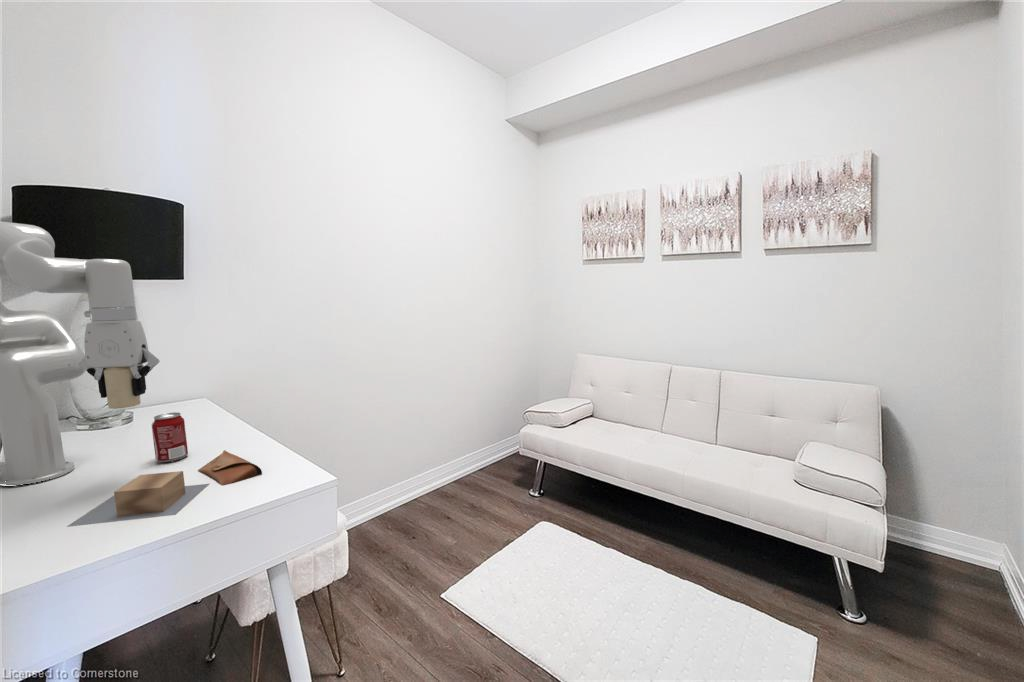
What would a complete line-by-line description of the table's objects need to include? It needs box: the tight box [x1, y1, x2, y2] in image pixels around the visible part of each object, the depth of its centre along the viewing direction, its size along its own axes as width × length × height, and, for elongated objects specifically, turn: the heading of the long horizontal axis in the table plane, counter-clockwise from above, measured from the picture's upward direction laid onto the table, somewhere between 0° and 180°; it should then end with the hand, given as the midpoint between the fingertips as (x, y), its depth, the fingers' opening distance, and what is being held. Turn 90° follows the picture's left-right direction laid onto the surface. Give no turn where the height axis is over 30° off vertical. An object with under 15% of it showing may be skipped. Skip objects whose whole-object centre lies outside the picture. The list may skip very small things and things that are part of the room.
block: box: [113, 470, 186, 516], centre depth 89 cm, size 8×8×5 cm
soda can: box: [151, 411, 189, 464], centre depth 114 cm, size 7×7×12 cm
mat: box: [66, 483, 210, 527], centre depth 90 cm, size 18×14×1 cm
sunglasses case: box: [197, 449, 263, 486], centre depth 105 cm, size 18×7×7 cm, turn 55°
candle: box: [104, 367, 141, 410], centre depth 98 cm, size 6×6×10 cm
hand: (123, 394), depth 98 cm, fingers closed on candle, 5 cm apart
